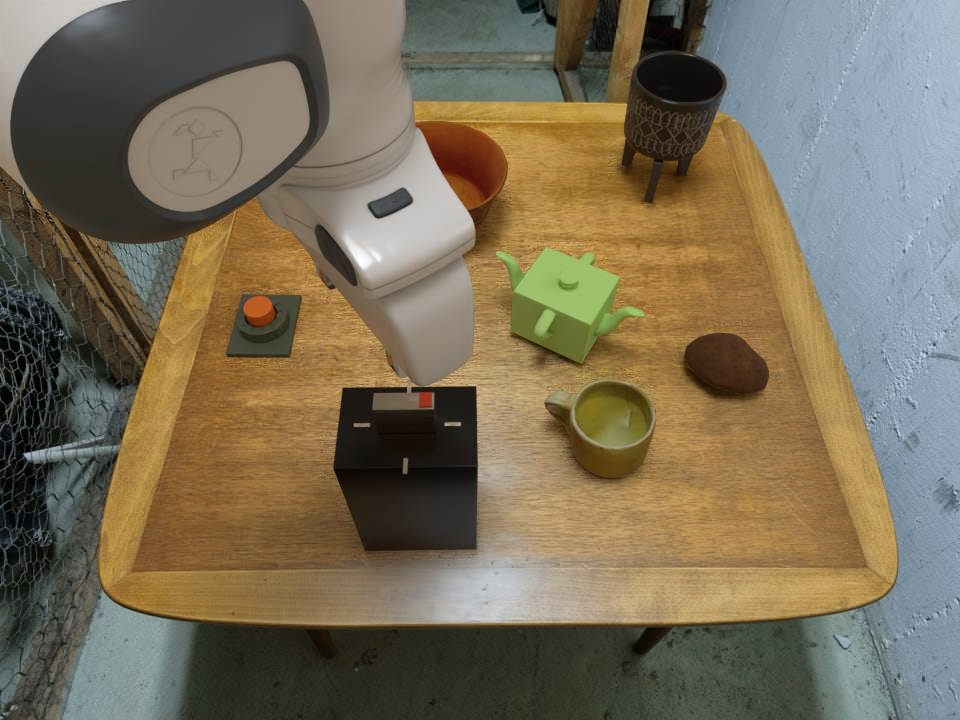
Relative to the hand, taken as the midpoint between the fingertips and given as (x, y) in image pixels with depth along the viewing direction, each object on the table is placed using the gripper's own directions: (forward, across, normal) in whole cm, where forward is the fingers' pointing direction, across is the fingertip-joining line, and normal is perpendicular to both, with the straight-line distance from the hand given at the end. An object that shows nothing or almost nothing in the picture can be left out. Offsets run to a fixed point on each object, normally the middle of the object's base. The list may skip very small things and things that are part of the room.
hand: (368, 321), depth 47 cm
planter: (+34, -24, +62) cm, 75 cm away
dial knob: (+14, +1, +1) cm, 14 cm away
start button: (+32, -33, -1) cm, 46 cm away
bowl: (+34, -37, +29) cm, 58 cm away
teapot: (+34, -10, +30) cm, 47 cm away
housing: (+34, -33, -1) cm, 47 cm away
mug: (+34, +5, +22) cm, 41 cm away
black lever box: (+34, +1, +1) cm, 34 cm away
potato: (+34, +8, +42) cm, 54 cm away
